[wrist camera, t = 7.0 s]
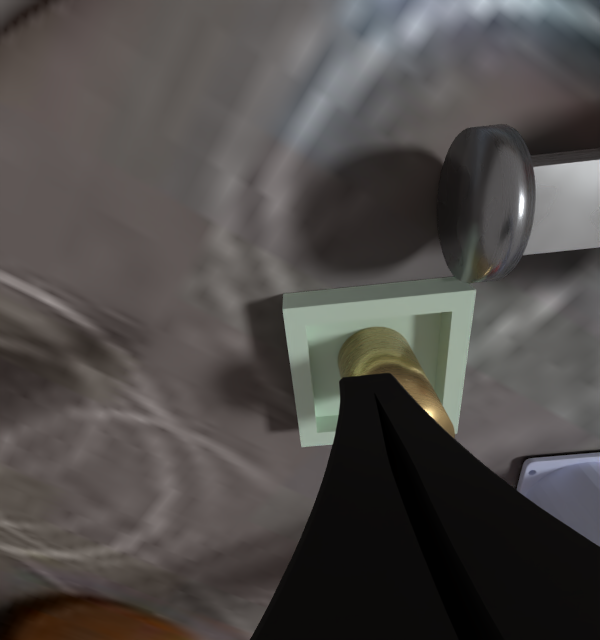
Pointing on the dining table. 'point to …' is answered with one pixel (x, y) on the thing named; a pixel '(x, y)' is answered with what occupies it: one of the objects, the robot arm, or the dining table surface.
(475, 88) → the dining table surface
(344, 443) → the robot arm
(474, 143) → the shaft
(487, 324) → the dining table surface
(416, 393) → the cylinder
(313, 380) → the pale green square tray
